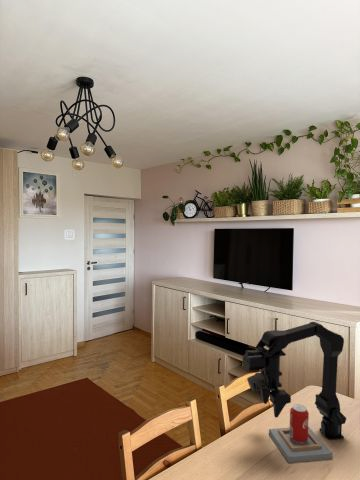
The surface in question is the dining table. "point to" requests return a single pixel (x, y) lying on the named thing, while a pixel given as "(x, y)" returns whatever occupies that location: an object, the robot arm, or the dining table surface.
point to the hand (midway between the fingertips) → (270, 410)
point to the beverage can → (299, 423)
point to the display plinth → (300, 446)
